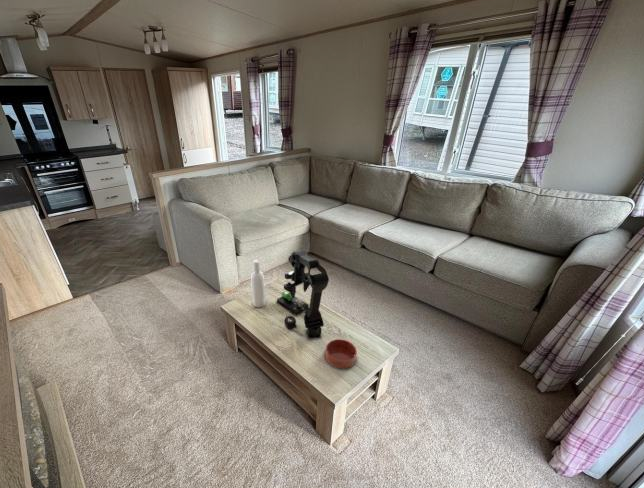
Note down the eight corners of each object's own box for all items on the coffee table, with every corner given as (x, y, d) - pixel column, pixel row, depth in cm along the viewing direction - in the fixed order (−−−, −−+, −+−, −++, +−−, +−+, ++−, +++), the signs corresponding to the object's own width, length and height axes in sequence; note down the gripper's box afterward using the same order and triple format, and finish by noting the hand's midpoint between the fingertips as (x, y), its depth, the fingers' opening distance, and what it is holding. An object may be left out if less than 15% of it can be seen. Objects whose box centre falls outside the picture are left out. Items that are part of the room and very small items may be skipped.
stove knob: (298, 303, 178) (299, 297, 176) (303, 306, 176) (303, 300, 173) (294, 306, 176) (294, 300, 174) (298, 309, 174) (299, 303, 171)
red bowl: (329, 370, 139) (329, 362, 136) (322, 347, 151) (323, 340, 148) (359, 367, 139) (360, 360, 137) (350, 345, 151) (351, 338, 149)
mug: (281, 326, 165) (281, 316, 161) (289, 321, 169) (289, 311, 165) (297, 337, 157) (297, 327, 153) (305, 332, 161) (306, 321, 157)
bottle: (251, 307, 181) (247, 264, 165) (254, 299, 188) (250, 257, 172) (264, 308, 180) (261, 265, 164) (266, 300, 186) (264, 258, 171)
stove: (309, 309, 177) (309, 305, 176) (297, 316, 172) (297, 312, 171) (289, 295, 189) (288, 292, 188) (277, 302, 184) (276, 298, 183)
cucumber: (290, 303, 179) (290, 298, 177) (280, 296, 184) (280, 291, 183) (294, 301, 181) (295, 296, 179) (284, 294, 187) (285, 289, 185)
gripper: (301, 260, 174) (300, 282, 182) (276, 272, 164) (277, 295, 172) (315, 267, 166) (314, 290, 175) (290, 280, 157) (290, 303, 165)
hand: (298, 294), depth 172 cm, fingers open, 9 cm apart
